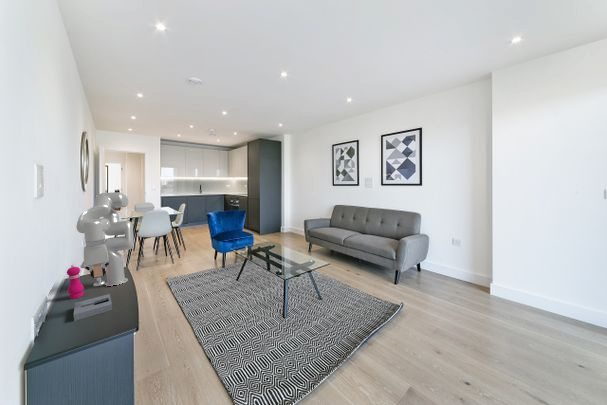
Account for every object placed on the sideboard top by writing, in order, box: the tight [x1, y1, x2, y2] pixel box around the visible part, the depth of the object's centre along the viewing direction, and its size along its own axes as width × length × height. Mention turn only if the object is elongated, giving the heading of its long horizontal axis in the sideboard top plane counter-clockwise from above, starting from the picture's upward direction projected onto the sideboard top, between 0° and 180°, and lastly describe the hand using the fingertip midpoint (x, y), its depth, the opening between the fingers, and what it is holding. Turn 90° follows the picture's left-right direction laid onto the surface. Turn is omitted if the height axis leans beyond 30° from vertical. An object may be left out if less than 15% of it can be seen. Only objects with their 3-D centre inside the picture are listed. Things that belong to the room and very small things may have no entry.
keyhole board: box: [73, 293, 113, 322], centre depth 133 cm, size 17×15×3 cm
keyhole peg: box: [92, 264, 106, 287], centre depth 134 cm, size 5×5×11 cm
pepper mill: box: [66, 264, 85, 300], centre depth 149 cm, size 7×7×20 cm
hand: (98, 276), depth 134 cm, fingers closed on keyhole peg, 3 cm apart
